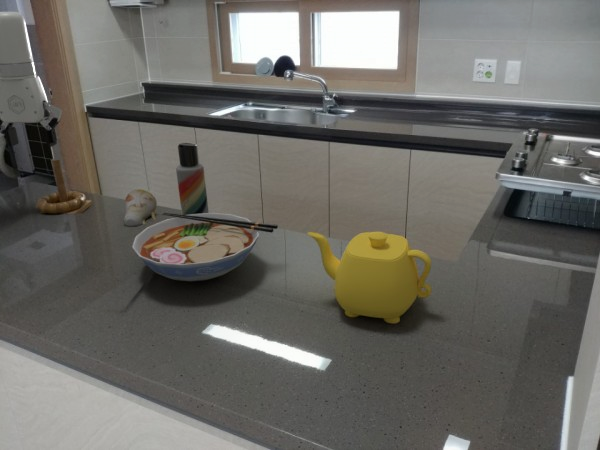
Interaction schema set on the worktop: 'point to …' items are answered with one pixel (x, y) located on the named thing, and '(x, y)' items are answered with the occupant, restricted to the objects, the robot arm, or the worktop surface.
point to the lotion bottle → (191, 181)
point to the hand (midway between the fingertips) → (32, 145)
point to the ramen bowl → (198, 244)
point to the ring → (50, 205)
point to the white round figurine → (139, 207)
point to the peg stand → (64, 187)
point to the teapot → (376, 275)
